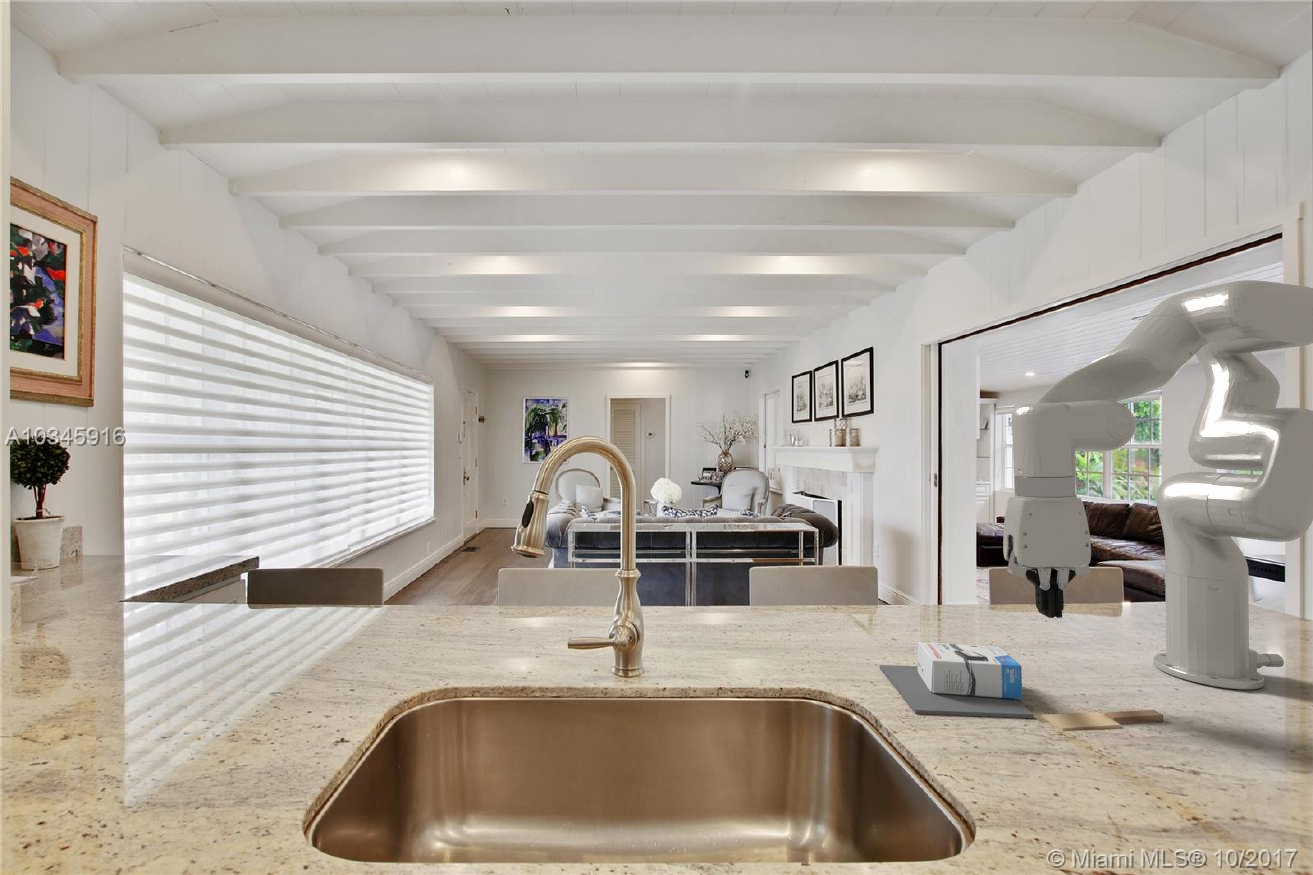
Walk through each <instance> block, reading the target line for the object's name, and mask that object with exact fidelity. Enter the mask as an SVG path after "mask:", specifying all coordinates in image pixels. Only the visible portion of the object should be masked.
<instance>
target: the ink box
mask: <svg viewBox="0 0 1313 875" xmlns="http://www.w3.org/2000/svg"><path fill="white" fill-rule="evenodd" d="M916 666H917V668H918V673H919V675H920V676H921V678H922V679H923V681H924V683H925V684H926V686H927V687H928V689H929V690H930V692H933V693H940V694H955V695H969V696H982V697H996V698H1010V699H1015V700H1022V699H1023V681H1022V680H1023V679H1022V675H1023V674H1022V670H1023V668H1022V665H1021V664H1020V663H1019V662H1017V661H1016V660H1015V659H1014V658H1013V657H1011V656H1010V654H1008V653H1007V652H1006V651H1004V650H1003V649H1002V648H1001V647H1000V646H992V645H973V644H972V645H971V644H957V643H956V644H955V643H944V642H941V643H940V642H926V641H925V642H924V641H918V642H917V665H916Z"/></svg>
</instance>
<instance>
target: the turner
mask: <svg viewBox="0 0 1313 875" xmlns="http://www.w3.org/2000/svg"><path fill="white" fill-rule="evenodd" d="M1041 718H1042V719H1044V720H1045V721H1047V722H1048V723H1050V724H1052V725H1053V726H1055V727H1057V729H1060V730H1061V731H1074V730H1075V731H1078V730H1101V729H1103V730H1104V729H1121V728H1122V724H1133V723H1150V722H1152V723H1153V722H1163V721H1164V714H1163V713H1160V712H1159V711H1156V710H1154V709H1146V710H1145V709H1144V710H1143V709H1142V710H1127V711H1126V710H1125V711H1111V712H1110V711H1107V712H1103V713H1100V712H1099V711H1088V712H1071V713H1069V712H1068V713H1056V714H1055V713H1054V714H1041Z"/></svg>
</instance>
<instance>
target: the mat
mask: <svg viewBox="0 0 1313 875" xmlns="http://www.w3.org/2000/svg"><path fill="white" fill-rule="evenodd" d="M917 666H918V665H893V664H892V665H891V664H890V665H889V664H879V669H880V671H881V672H882V673H883V675H884V676H885V677H886V678H887V679H888V681H889V682H890V684H891V685H892V686H893V687H894V689H895V690H896V691H897V692H898V693H899V695H900V696H901V697H902V699H903V700H904V701H905V702H906V703H907V705H908V706H909V708H910V709H911V710H912V711H913V713H914V714H916V715H918V714H919V715H940V716H941V715H942V716H965V717H967V716H968V717H969V716H970V717H988V718H989V717H992V718H995V717H996V718H1016V719H1017V718H1019V719H1034V713H1032V712H1031V711H1030V710H1029V709H1027V708H1026V707H1025V706H1024V705H1022V704H1021V702H1019V701H1018V700H1017V699H1010V698H996V697H982V696H969V695H955V694H940V693H933V692H930V690H929V689H928V687H927V686H926V684H925V683H924V681H923V679H922V678H921V676H920V675H919V673H918V668H917Z"/></svg>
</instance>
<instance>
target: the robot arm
mask: <svg viewBox="0 0 1313 875" xmlns="http://www.w3.org/2000/svg"><path fill="white" fill-rule="evenodd" d="M1311 344H1313V287H1310V286H1303V285H1298V284H1290V283H1282V282H1275V281H1265V280H1256V279H1255V280H1251V279H1248V280H1247V279H1246V280H1244V279H1243V280H1235V281H1230V282H1225V283H1220V284H1215V285H1212V286H1211V285H1210V286H1207V287H1202V288H1199V289H1195V290H1191V291H1190V290H1188V291H1185V292H1181V293H1178V294H1174V295H1171V296H1169V297H1167V298H1165V299H1164V300H1162V301H1161V302H1159V303H1158V304H1157V305H1156V306H1155V307H1154V308H1153V309H1152V310H1151V311H1150V312H1149V313H1148V314H1147V315H1146V316H1145V317H1144V318H1143V319H1141V321H1140V322H1139V324H1137V326H1135V327H1134V329H1132V331H1130V333H1129V334H1128V335H1127V336H1126V337H1125V338H1123V340H1122V341H1121V342H1120V343H1119V344H1118V345H1117V346H1116V347H1115V348H1114V349H1113V350H1111V351H1108V352H1107V353H1105V354H1102V355H1101V356H1100V357H1097V358H1095V359H1094V360H1092V361H1090V362H1089V363H1087V364H1085V365H1084V366H1082V367H1080V368H1078V369H1076V370H1074V371H1072V372H1070V373H1068V374H1067V375H1066V376H1064V377H1062V378H1060V379H1059V380H1058V381H1056V382H1055V383H1054V384H1053V385H1051V386H1050V387H1049V388H1048V389H1047V390H1046V391H1045V392H1044V393H1043V394H1042V395H1041V396H1040V397H1039V398H1038V399H1037V400H1036V401H1035V403H1030V404H1027V403H1026V404H1021V405H1018V406H1016V407H1015V408H1014V409H1013V410H1012V413H1011V436H1012V460H1013V464H1012V465H1013V482H1014V484H1013V485H1014V486H1013V489H1014V496H1011V497H1008V500H1007V503H1006V509H1005V515H1004V516H1005V517H1004V522H1003V523H1004V524H1003V538H1002V539H1003V541H1002V544H1003V546H1002V548H1003V550H1002V552H1003V557H1004V560H1005V561H1007V562H1008V565H1007V572H1008V573H1009V574H1011V575H1012V576H1013V575H1014V576H1018V577H1023V578H1026V579H1027V581H1029V582H1030V584H1031V585H1033V586H1034V590H1035V594H1034V595H1035V607H1036V609H1037V611H1038V613H1039V614H1041V615H1043V616H1045V617H1047V618H1049V619H1054V618H1057V619H1062V618H1063V610H1064V609H1065V608H1064V606H1065V605H1064V603H1065V602H1064V590H1066V589H1067V588H1068V585H1069V583H1070V582H1071V581H1072V580H1073V579H1074V578H1075V577H1079V576H1080V577H1081V576H1083V575H1087V574H1089V573H1090V571H1091V570H1090V569H1091V568H1090V565H1089V564H1090V563H1091V559H1092V558H1091V557H1092V546H1091V545H1092V544H1091V534H1090V527H1089V523H1088V517H1087V514H1086V509H1085V506H1084V502H1083V501H1082V498H1081V497H1078V496H1077V495H1078V494H1079V491H1078V490H1080V489H1085V487H1086V482H1085V480H1084V479H1078V476H1077V467H1076V464H1077V463H1076V452H1086V453H1087V452H1090V453H1091V452H1092V453H1093V452H1095V453H1099V452H1100V453H1101V452H1102V453H1103V452H1110V451H1114V450H1117V449H1119V448H1122V447H1124V446H1125V445H1127V443H1129V442H1130V441H1131V440H1132V438H1133V437H1134V435H1135V432H1136V430H1137V422H1136V418H1135V415H1134V413H1133V412H1132V411H1131V410H1130V409H1129V408H1128V407H1127V406H1126V405H1124V404H1122V403H1120V401H1123V400H1129V399H1131V398H1135V397H1138V396H1140V395H1141V396H1142V395H1144V394H1147V393H1150V392H1152V391H1155V390H1157V389H1159V388H1162V387H1164V386H1166V385H1167V384H1168V383H1170V382H1171V381H1172V380H1173V379H1174V378H1175V376H1177V374H1178V373H1179V372H1180V371H1181V370H1182V369H1183V368H1184V366H1185V365H1186V364H1187V363H1189V361H1190V360H1191V359H1192V357H1194V356H1196V358H1197V360H1198V362H1199V364H1200V366H1201V367H1202V370H1203V372H1204V375H1205V379H1206V387H1205V390H1204V394H1203V398H1202V401H1201V404H1200V406H1199V410H1198V412H1197V415H1196V419H1195V421H1194V424H1193V426H1192V430H1191V433H1190V437H1189V441H1188V448H1187V449H1188V454H1189V457H1190V458H1191V459H1192V460H1193V462H1194V463H1196V464H1198V465H1200V466H1201V467H1205V468H1210V469H1213V470H1214V469H1215V470H1216V469H1217V470H1224V471H1225V470H1227V471H1239V472H1240V471H1245V472H1247V471H1248V472H1262V473H1261V474H1248V473H1247V474H1246V473H1233V472H1232V473H1230V472H1209V471H1207V472H1206V471H1204V472H1203V471H1197V472H1196V471H1193V472H1192V471H1190V472H1183V473H1177V474H1175V475H1172V476H1170V477H1168V478H1167V479H1165V480H1164V481H1163V482H1162V483H1161V484H1160V486H1159V487H1158V488H1157V492H1156V499H1155V501H1156V508H1157V512H1158V516H1159V520H1160V523H1161V528H1162V534H1163V538H1164V539H1163V541H1164V557H1165V565H1164V566H1165V570H1164V571H1165V572H1164V574H1165V652H1162V653H1158V654H1155V655H1154V656H1153V664H1154V666H1155V667H1156V668H1157V669H1159V670H1160V671H1162V672H1164V673H1167V674H1169V675H1171V676H1174V677H1177V678H1180V679H1182V680H1186V681H1190V682H1193V683H1197V684H1202V685H1207V686H1210V687H1218V688H1224V689H1233V690H1257V689H1261V688H1263V687H1264V686H1265V677H1264V676H1263V675H1262V674H1261V673H1260V672H1258V669H1261V668H1262V667H1266V668H1282V667H1283V666H1284V665H1285V661H1284V659H1283V657H1282V656H1281V655H1280V654H1277V653H1258V651H1256V650H1254V649H1251V648H1250V607H1249V606H1250V605H1249V604H1250V601H1249V600H1250V597H1249V595H1250V593H1249V591H1250V590H1249V566H1248V562H1247V559H1246V557H1245V555H1244V554H1243V552H1242V550H1241V549H1240V548H1239V546H1238V544H1237V543H1236V542H1235V540H1234V539H1233V538H1241V539H1248V540H1249V539H1250V540H1257V541H1265V542H1266V541H1267V542H1275V543H1276V542H1278V543H1279V542H1280V543H1283V542H1292V541H1295V540H1298V539H1299V538H1301V537H1302V536H1303V535H1305V534H1306V533H1307V531H1308V530H1309V529H1310V527H1311V525H1312V523H1313V410H1311V409H1307V408H1301V407H1277V404H1278V400H1279V397H1280V392H1281V384H1280V383H1279V380H1278V378H1277V377H1276V376H1275V374H1274V373H1273V372H1272V371H1271V370H1270V369H1269V368H1268V367H1267V366H1265V365H1264V364H1263V363H1262V362H1261V361H1260V360H1258V358H1256V356H1255V355H1254V354H1253V353H1255V352H1264V351H1265V352H1266V351H1273V350H1281V349H1289V348H1297V347H1303V346H1308V345H1311ZM1232 537H1233V538H1232Z"/></svg>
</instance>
